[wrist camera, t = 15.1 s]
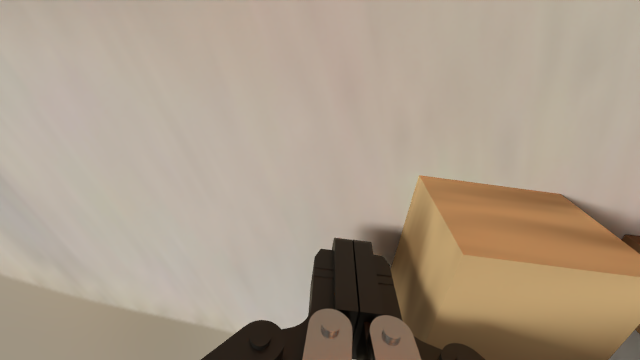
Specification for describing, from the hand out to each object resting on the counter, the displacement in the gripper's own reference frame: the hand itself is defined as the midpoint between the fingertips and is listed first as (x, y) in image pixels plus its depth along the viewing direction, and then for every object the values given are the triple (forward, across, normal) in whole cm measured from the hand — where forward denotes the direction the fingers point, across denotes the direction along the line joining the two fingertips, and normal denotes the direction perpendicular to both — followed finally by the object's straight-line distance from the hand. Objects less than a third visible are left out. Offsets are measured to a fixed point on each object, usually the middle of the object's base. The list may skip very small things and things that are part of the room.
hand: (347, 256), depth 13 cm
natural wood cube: (+2, -6, +1) cm, 6 cm away
